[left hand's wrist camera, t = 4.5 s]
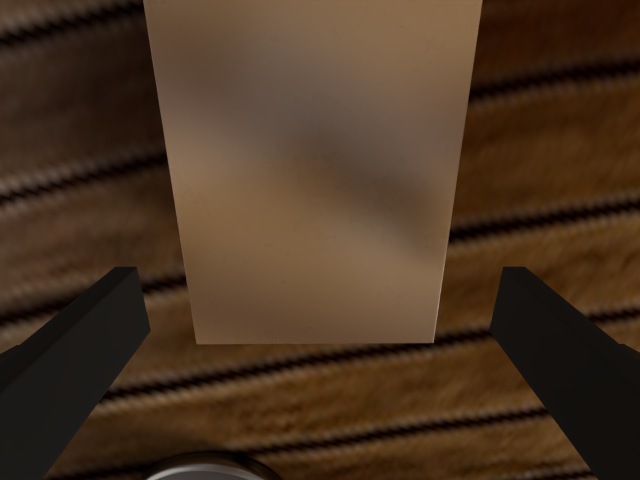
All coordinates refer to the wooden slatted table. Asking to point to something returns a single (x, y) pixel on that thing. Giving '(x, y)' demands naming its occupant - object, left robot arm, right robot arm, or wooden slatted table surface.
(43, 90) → the wooden slatted table surface
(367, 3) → the cabinet
